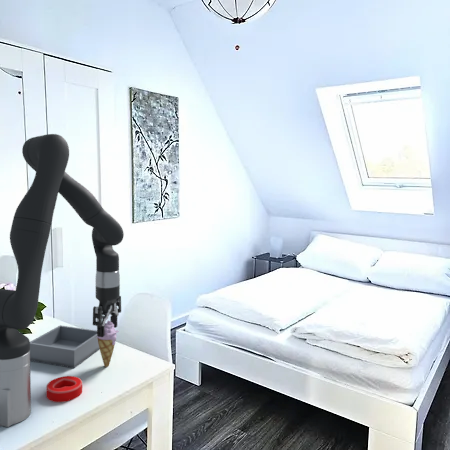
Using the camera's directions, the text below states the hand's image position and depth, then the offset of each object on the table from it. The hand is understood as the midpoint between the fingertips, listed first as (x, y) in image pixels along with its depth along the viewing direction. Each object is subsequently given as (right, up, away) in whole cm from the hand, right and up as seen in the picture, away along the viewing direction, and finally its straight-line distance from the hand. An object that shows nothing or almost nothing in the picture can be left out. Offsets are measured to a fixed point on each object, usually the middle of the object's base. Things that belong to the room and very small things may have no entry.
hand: (107, 331), depth 138 cm
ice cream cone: (0, -12, +1) cm, 12 cm away
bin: (-17, -10, +9) cm, 22 cm away
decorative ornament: (-8, -14, -16) cm, 23 cm away
